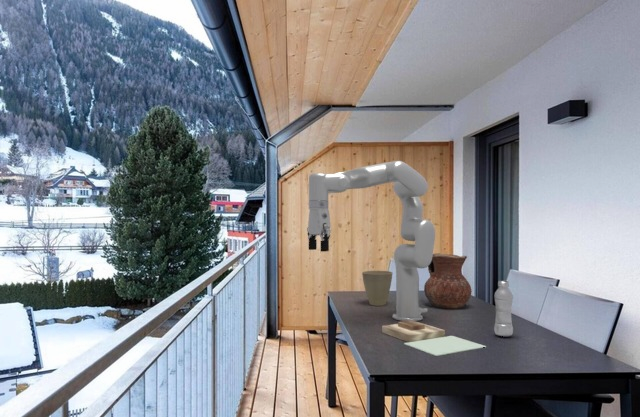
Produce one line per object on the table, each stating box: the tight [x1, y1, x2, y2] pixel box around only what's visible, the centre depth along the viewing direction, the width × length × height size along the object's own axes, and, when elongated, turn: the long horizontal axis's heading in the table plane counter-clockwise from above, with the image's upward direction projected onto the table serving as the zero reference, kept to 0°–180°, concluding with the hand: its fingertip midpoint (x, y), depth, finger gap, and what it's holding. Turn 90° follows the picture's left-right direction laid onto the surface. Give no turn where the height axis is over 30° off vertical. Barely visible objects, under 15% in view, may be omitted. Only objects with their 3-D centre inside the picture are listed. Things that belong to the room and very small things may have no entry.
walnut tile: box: [397, 320, 425, 331], centre depth 178 cm, size 6×8×2 cm
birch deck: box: [381, 321, 446, 343], centre depth 177 cm, size 16×16×2 cm
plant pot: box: [361, 270, 393, 307], centre depth 236 cm, size 15×15×16 cm
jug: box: [423, 253, 472, 309], centre depth 233 cm, size 22×21×25 cm
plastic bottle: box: [493, 280, 514, 338], centre depth 175 cm, size 6×7×20 cm
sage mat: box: [403, 335, 487, 357], centre depth 162 cm, size 22×16×1 cm
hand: (318, 250), depth 184 cm, fingers open, 9 cm apart
